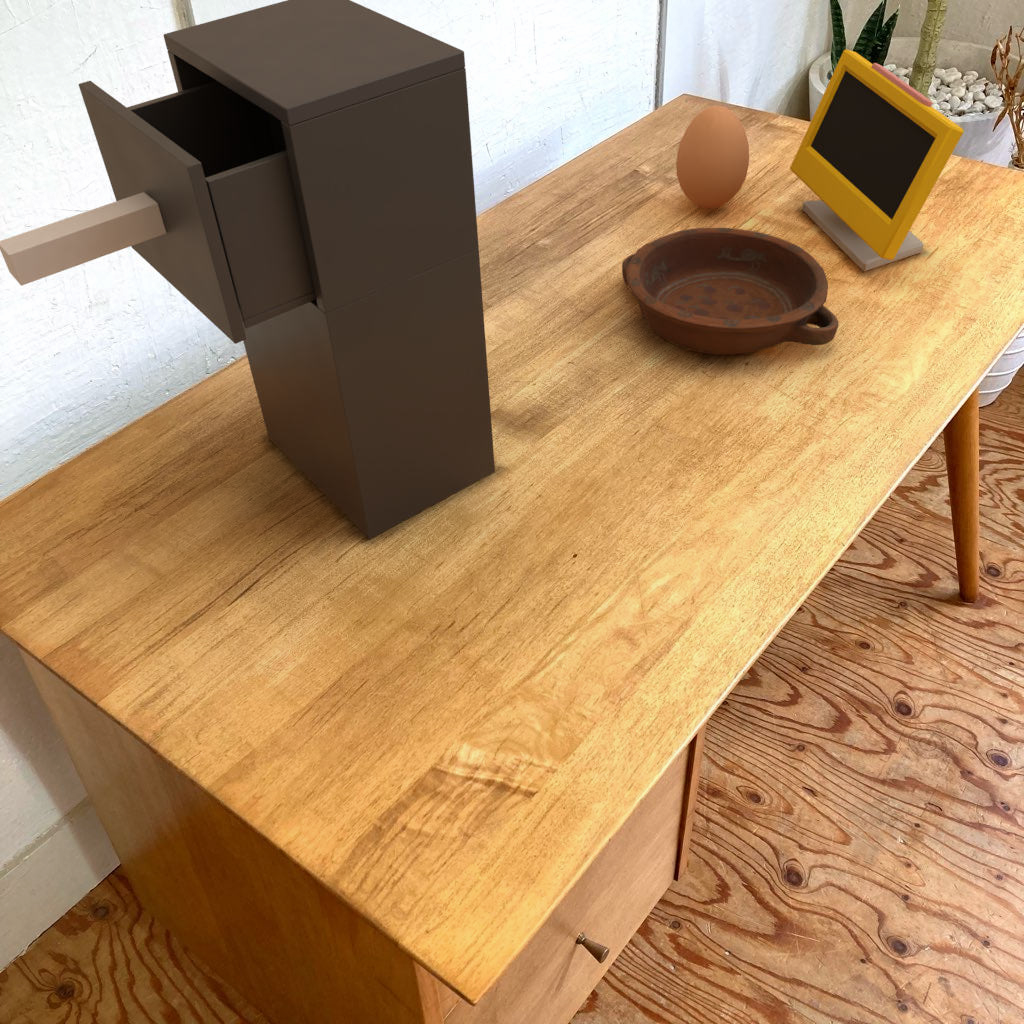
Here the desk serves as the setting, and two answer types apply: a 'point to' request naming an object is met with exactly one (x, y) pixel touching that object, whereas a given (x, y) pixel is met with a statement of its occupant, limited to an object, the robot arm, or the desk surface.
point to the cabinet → (366, 252)
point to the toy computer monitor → (872, 161)
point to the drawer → (188, 205)
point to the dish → (730, 291)
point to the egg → (713, 158)
